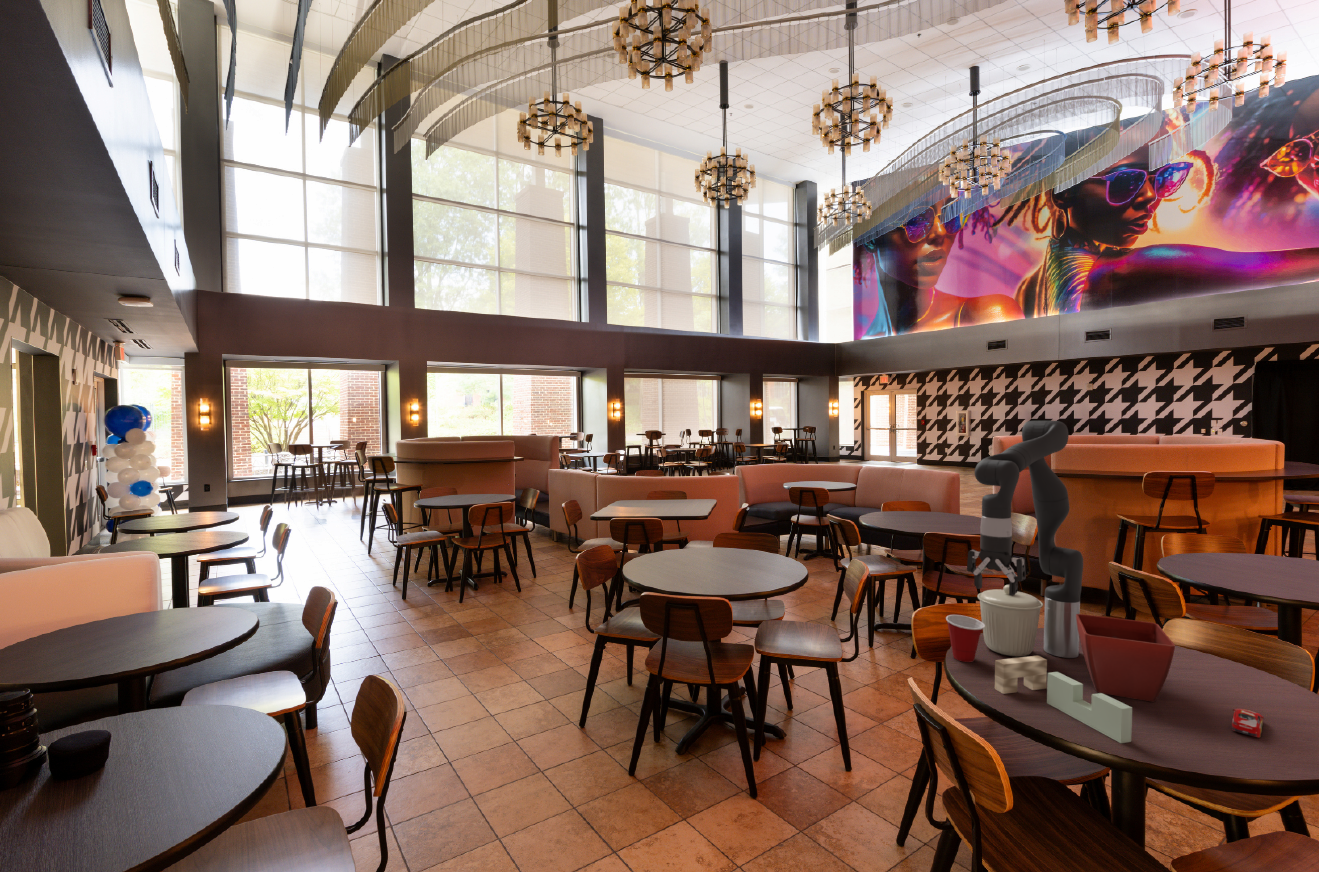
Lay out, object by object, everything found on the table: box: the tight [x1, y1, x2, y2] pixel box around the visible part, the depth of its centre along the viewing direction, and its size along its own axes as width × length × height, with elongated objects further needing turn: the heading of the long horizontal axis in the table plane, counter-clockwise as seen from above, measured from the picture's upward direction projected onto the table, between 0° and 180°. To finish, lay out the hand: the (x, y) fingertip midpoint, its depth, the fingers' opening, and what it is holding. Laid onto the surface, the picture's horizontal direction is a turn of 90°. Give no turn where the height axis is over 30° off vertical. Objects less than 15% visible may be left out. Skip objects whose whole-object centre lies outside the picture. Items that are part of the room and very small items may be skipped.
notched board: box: [1046, 671, 1133, 744], centre depth 150 cm, size 20×3×8 cm, turn 13°
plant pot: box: [1076, 613, 1176, 703], centre depth 168 cm, size 19×19×17 cm
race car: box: [1231, 708, 1265, 738], centre depth 148 cm, size 13×5×4 cm, turn 132°
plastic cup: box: [945, 614, 985, 663], centre depth 189 cm, size 11×11×12 cm
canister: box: [977, 584, 1044, 657], centre depth 195 cm, size 18×18×21 cm
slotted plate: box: [994, 655, 1048, 695], centre depth 168 cm, size 14×3×8 cm, turn 103°
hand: (995, 591), depth 168 cm, fingers open, 8 cm apart
